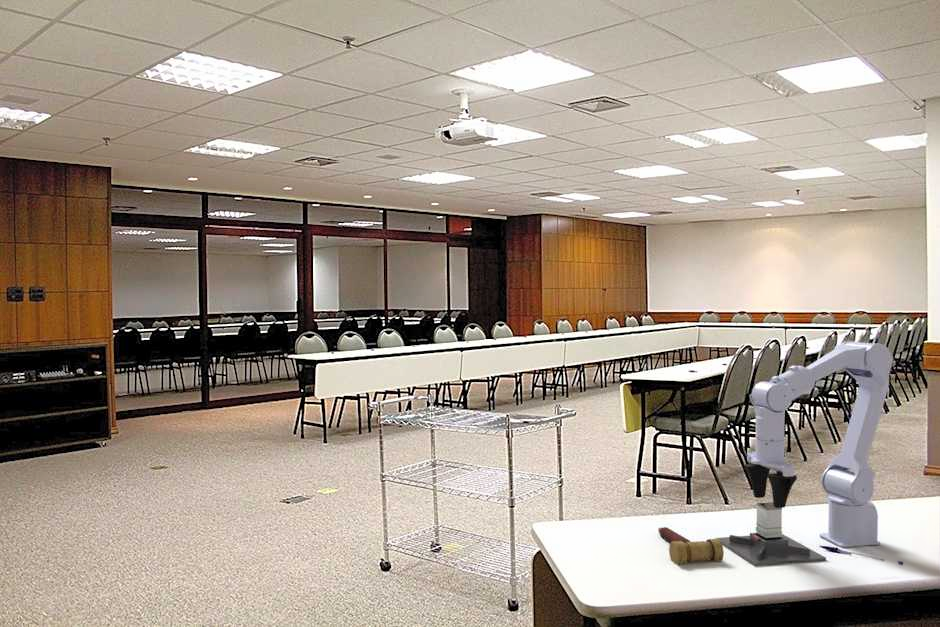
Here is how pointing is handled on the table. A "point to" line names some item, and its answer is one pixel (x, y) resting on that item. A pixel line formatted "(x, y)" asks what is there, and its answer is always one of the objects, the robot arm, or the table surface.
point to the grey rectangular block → (769, 520)
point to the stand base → (769, 550)
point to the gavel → (691, 548)
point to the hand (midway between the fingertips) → (769, 502)
